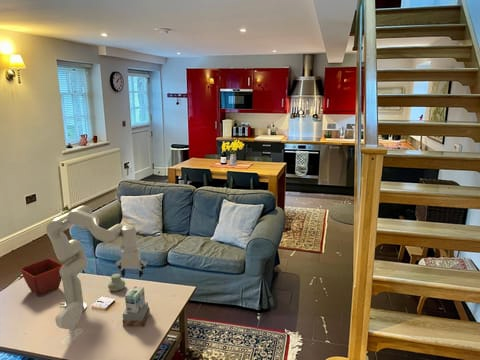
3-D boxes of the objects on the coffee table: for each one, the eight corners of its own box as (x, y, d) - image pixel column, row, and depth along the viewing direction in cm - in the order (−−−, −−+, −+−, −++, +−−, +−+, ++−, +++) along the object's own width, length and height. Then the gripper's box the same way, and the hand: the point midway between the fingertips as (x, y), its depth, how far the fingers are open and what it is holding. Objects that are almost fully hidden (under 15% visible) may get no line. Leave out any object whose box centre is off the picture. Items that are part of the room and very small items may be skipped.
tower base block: (123, 327, 204) (122, 320, 203) (130, 313, 216) (129, 306, 215) (144, 327, 204) (143, 320, 203) (149, 313, 216) (149, 307, 215)
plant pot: (52, 279, 254) (48, 257, 250) (66, 287, 244) (63, 265, 239) (23, 291, 239) (19, 268, 235) (37, 300, 229) (33, 277, 224)
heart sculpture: (65, 346, 188) (61, 316, 183) (57, 344, 189) (53, 315, 185) (86, 328, 202) (82, 300, 198) (78, 326, 204) (75, 298, 199)
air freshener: (106, 291, 239) (104, 277, 237) (113, 284, 247) (111, 271, 245) (121, 293, 237) (119, 279, 235) (127, 286, 245) (126, 273, 242)
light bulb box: (136, 313, 202) (135, 296, 199) (125, 312, 204) (124, 295, 201) (145, 303, 212) (144, 286, 210) (135, 301, 214) (133, 285, 211)
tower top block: (123, 320, 203) (122, 314, 202) (130, 307, 215) (129, 301, 214) (142, 320, 203) (141, 314, 202) (148, 308, 214) (147, 302, 213)
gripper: (112, 251, 196) (114, 279, 200) (143, 251, 195) (145, 279, 199) (117, 245, 203) (119, 272, 207) (147, 245, 202) (149, 273, 207)
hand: (132, 276), depth 203 cm, fingers open, 9 cm apart
